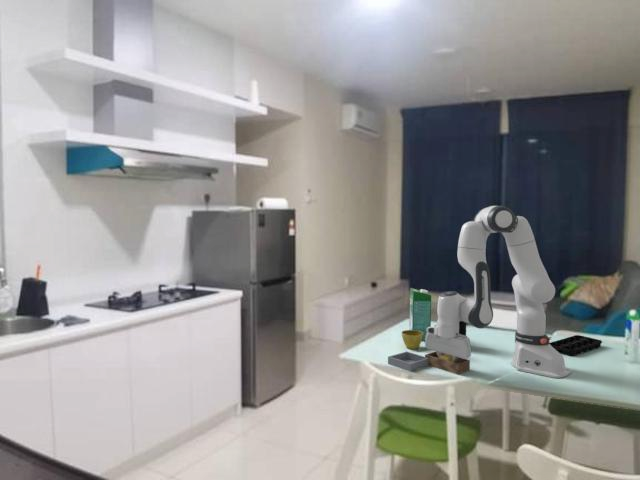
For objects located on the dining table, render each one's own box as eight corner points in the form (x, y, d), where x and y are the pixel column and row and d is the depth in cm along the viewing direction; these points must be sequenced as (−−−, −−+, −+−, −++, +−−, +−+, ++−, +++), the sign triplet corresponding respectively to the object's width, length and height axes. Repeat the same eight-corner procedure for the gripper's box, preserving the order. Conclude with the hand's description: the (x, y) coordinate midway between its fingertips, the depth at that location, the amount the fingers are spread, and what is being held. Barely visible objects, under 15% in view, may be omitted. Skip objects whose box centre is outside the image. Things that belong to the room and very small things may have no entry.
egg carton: (603, 346, 231) (603, 339, 231) (586, 360, 209) (587, 352, 209) (564, 339, 243) (564, 332, 243) (544, 352, 221) (544, 344, 221)
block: (453, 367, 196) (454, 356, 195) (448, 369, 193) (448, 358, 193) (445, 364, 199) (445, 354, 199) (439, 366, 196) (440, 356, 196)
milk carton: (430, 340, 238) (431, 290, 237) (412, 339, 238) (413, 290, 237) (426, 335, 247) (427, 287, 246) (409, 335, 248) (410, 287, 246)
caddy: (469, 371, 193) (469, 360, 192) (457, 375, 187) (457, 364, 187) (436, 361, 205) (437, 351, 205) (424, 365, 200) (425, 354, 199)
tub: (428, 366, 198) (429, 358, 198) (410, 372, 190) (410, 363, 190) (406, 359, 207) (406, 351, 207) (387, 364, 200) (388, 356, 199)
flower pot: (417, 352, 218) (417, 336, 218) (397, 348, 224) (397, 333, 224) (426, 347, 226) (426, 332, 226) (407, 343, 232) (407, 329, 232)
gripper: (474, 335, 189) (473, 369, 190) (432, 325, 205) (431, 356, 206) (465, 337, 185) (464, 372, 186) (423, 327, 201) (422, 359, 202)
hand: (446, 364), depth 196 cm, fingers closed on block, 4 cm apart
